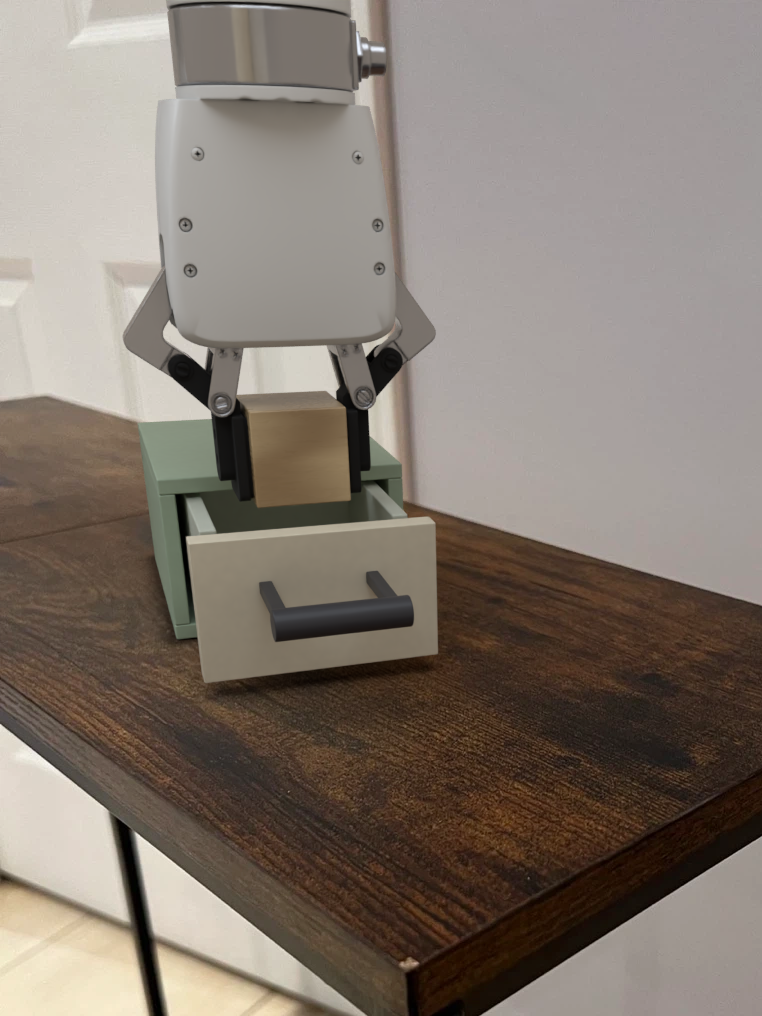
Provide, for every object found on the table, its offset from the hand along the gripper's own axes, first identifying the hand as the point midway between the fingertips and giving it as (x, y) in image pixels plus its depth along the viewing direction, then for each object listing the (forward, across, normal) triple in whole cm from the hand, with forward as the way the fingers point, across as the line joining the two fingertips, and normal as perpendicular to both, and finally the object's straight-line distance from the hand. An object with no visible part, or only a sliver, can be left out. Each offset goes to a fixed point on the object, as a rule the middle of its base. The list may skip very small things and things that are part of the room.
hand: (295, 486), depth 57 cm
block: (0, 0, 0) cm, 0 cm away
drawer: (+8, 0, +1) cm, 8 cm away
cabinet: (+9, 0, -11) cm, 14 cm away
